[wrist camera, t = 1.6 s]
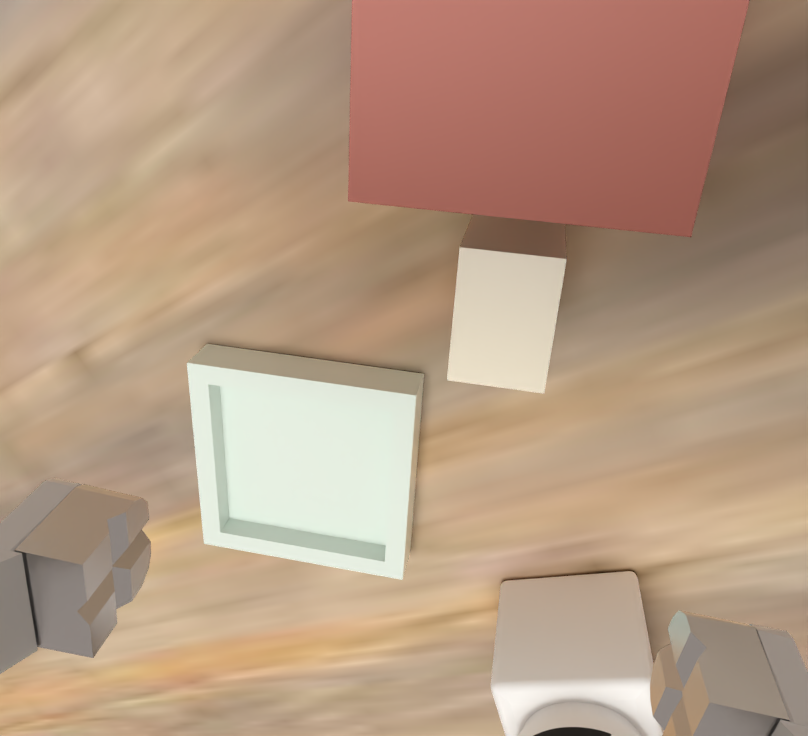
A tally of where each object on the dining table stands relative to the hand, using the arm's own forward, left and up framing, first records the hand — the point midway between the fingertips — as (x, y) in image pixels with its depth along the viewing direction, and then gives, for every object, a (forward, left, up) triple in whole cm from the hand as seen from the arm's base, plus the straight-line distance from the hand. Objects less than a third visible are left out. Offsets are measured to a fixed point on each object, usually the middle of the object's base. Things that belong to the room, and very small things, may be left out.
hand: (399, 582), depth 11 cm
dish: (+8, +13, -22) cm, 27 cm away
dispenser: (-1, -8, -21) cm, 23 cm away
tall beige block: (-1, +2, -22) cm, 22 cm away
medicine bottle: (-7, +22, -22) cm, 32 cm away
